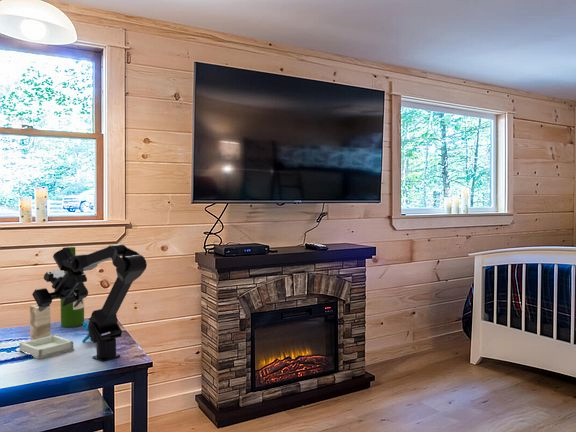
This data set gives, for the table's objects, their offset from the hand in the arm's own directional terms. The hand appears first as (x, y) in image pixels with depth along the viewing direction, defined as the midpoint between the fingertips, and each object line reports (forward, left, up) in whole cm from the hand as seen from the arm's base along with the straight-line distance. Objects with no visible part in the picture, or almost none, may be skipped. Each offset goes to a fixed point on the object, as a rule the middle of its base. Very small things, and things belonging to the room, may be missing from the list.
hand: (51, 307), depth 172 cm
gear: (-10, -10, -13) cm, 19 cm away
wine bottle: (+18, -18, -13) cm, 29 cm away
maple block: (+7, +1, -13) cm, 15 cm away
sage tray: (-7, +6, -13) cm, 16 cm away
